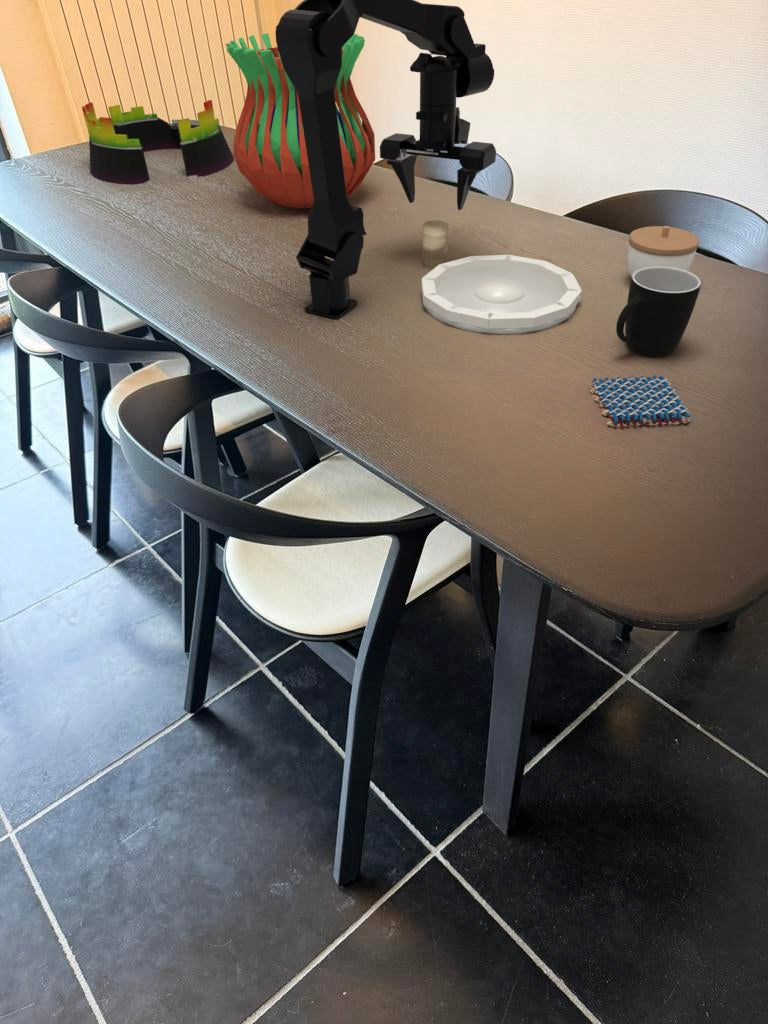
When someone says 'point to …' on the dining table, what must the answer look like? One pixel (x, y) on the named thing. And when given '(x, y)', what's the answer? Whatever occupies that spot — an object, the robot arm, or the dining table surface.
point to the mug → (657, 309)
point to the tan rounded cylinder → (435, 243)
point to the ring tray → (500, 294)
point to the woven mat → (638, 401)
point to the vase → (293, 126)
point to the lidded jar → (661, 248)
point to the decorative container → (152, 143)
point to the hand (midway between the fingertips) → (435, 205)
